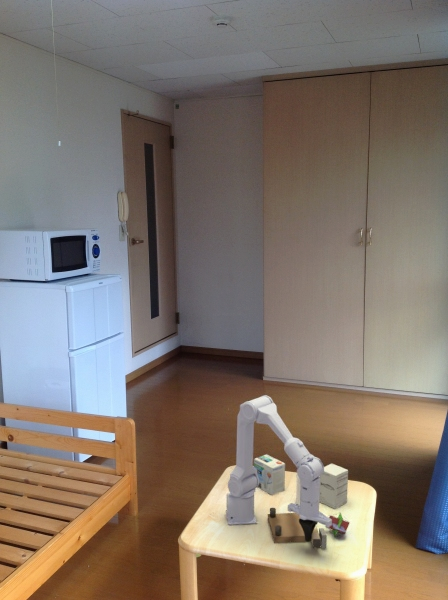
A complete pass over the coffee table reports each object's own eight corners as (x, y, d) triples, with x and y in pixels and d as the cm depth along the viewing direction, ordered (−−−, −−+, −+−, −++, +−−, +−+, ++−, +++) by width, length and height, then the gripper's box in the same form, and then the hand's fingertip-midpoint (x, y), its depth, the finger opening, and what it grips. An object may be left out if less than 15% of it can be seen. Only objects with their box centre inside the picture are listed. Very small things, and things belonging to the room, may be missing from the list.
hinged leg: (320, 548, 169) (320, 538, 169) (313, 548, 169) (313, 538, 169) (315, 530, 179) (316, 521, 178) (308, 530, 179) (309, 521, 178)
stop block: (321, 549, 172) (322, 535, 172) (318, 542, 176) (319, 528, 176) (326, 549, 172) (326, 535, 172) (323, 541, 176) (323, 528, 176)
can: (314, 509, 196) (314, 476, 195) (295, 507, 198) (296, 475, 196) (315, 500, 203) (315, 468, 201) (296, 498, 204) (297, 467, 202)
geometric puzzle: (351, 521, 184) (337, 503, 183) (356, 533, 177) (341, 514, 176) (333, 534, 184) (319, 516, 184) (337, 546, 178) (323, 527, 177)
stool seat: (274, 543, 176) (274, 529, 175) (267, 519, 190) (267, 507, 189) (318, 541, 177) (318, 527, 176) (308, 517, 191) (308, 505, 190)
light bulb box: (253, 485, 214) (253, 458, 213) (266, 480, 218) (266, 453, 217) (272, 495, 206) (272, 468, 204) (285, 490, 210) (285, 463, 208)
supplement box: (318, 502, 201) (318, 468, 199) (331, 495, 206) (331, 462, 204) (335, 510, 196) (335, 475, 194) (347, 502, 200) (348, 469, 199)
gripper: (282, 495, 171) (281, 536, 173) (323, 511, 162) (322, 555, 164) (295, 487, 177) (294, 527, 179) (336, 502, 167) (334, 545, 169)
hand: (308, 540), depth 172 cm, fingers closed, pressing on hinged leg
